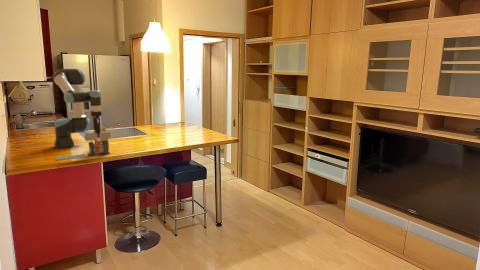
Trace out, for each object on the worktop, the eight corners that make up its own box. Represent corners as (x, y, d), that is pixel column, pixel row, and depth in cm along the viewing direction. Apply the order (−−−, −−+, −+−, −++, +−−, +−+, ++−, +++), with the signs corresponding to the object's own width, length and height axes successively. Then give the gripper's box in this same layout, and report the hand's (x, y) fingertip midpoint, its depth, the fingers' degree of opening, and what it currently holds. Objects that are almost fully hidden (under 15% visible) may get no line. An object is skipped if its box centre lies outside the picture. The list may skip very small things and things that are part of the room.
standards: (88, 154, 260) (87, 142, 259) (108, 151, 268) (107, 140, 266) (89, 156, 255) (88, 144, 253) (110, 153, 262) (109, 142, 260)
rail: (85, 139, 256) (84, 133, 255) (109, 137, 265) (109, 131, 264) (85, 140, 253) (85, 134, 252) (110, 138, 262) (110, 132, 261)
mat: (55, 157, 250) (55, 157, 250) (84, 154, 260) (84, 153, 260) (56, 160, 242) (56, 160, 242) (86, 157, 252) (86, 156, 252)
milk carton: (93, 149, 276) (92, 125, 272) (103, 147, 284) (102, 123, 280) (100, 150, 271) (98, 126, 267) (110, 148, 279) (108, 125, 275)
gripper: (89, 109, 259) (91, 139, 264) (92, 112, 246) (94, 143, 251) (99, 109, 263) (101, 138, 268) (103, 112, 250) (105, 142, 255)
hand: (98, 140), depth 260 cm, fingers closed on rail, 3 cm apart
